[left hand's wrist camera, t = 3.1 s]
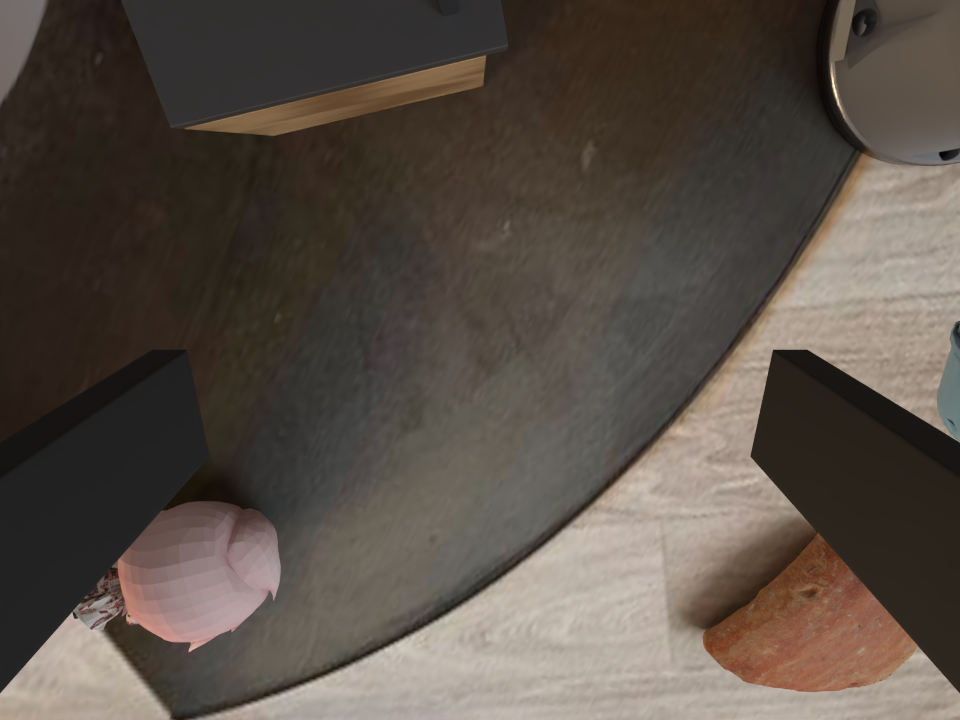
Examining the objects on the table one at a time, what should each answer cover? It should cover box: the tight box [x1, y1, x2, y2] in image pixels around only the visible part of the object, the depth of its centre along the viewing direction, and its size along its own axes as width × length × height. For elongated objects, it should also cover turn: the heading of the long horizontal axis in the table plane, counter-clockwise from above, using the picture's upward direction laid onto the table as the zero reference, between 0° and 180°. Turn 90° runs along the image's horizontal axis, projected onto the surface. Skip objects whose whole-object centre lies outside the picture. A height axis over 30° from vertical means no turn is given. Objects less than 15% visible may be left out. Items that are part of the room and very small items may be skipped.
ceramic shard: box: [703, 533, 918, 692], centre depth 47 cm, size 15×6×15 cm
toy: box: [73, 501, 281, 653], centre depth 40 cm, size 12×11×15 cm
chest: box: [184, 56, 486, 136], centre depth 27 cm, size 14×9×11 cm
